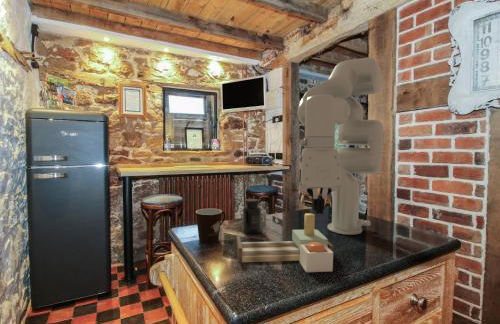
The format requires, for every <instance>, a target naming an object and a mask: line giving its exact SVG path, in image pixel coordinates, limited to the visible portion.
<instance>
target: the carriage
mask: <svg viewBox="0 0 500 324" xmlns="http://www.w3.org/2000/svg"><path fill="white" fill-rule="evenodd" d="M315 217H316V213H315V214H314V213H307V212H306V213H304V222H303V223H304V224H303V229H292V230H291V231H292V233H291V241H294V242H295V244H296V245H297V247H298V248H299V249H300V245H304V244H308V243H310V242H319V243H322V244H325V245H326V246H327V247H328V241H329V239H328V238H327V237H326V236H325V235H324V234H323V233H321V231H320V230H318V229H317V228H316V229H315V226H316V225H315V223H316V222H315V221H316V218H315Z"/></svg>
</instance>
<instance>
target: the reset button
mask: <svg viewBox="0 0 500 324" xmlns="http://www.w3.org/2000/svg"><path fill="white" fill-rule="evenodd" d="M308 251H309V252H324V244H322V243H319V242H310V243H308Z"/></svg>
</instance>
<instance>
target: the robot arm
mask: <svg viewBox="0 0 500 324" xmlns="http://www.w3.org/2000/svg"><path fill="white" fill-rule="evenodd" d="M383 81H384V80H383V75H382V71H381V68H380V65H379V62H377V60H376V59H375V58H373V57H362V58H355V59H347V60H343V61H340V62H339V63H337V64H336V65H335V67H334V68H333V70H332V72H331V73H330V75H329V77H328V79H326V80H325V81H322V82H321V83H319V84H317V85H315V86H313V87H311V88H310V89H309V90H307V91H305V93H304V95H303V96H302V98H301V100H300V101H299V103H298V106H297V119H298V121H299V122H300V123H301V125H303V126H304V137H303V138H302V139H299V145H300V146H301V145H302V146H303V147H304V148H301V149H302V150H301V154H300V160H299V165H298V167H299V168H298V183H299V185H298V191H300V192H304V193H307V194H308V195H309V196H310V197H311V209H312V211H313V213H315V215H319V214H320V215H322V214H324V210H325V208H326V206H325V205H326V204H325V202H326V200H325V199H327V197H328V196H329V195H330V193H332V206H331V207H332V210H331V212H332V213H331V222H330V223H328V224H327V229H328V231H331V232H333V233H336V234H341V235H348V236H350V235H351V236H352V235H359V234H361V233H362V232H363V228H362V227H363V226H365V227H366V226H367V227H368V226H371V224H372V223H371V220H364V219H360V218H359V213H360V212H359V211H360V210H359V208H360V183H359V181H358V179H357V178H356V177H355V174H360V175H362V174H363V175H377V174H379V173H380V172H381V170H382V165H383V153H384V152H383V150H384V126H383V124H382V122H381V121H379V120H378V119H364V107H363V104H361V103H360V101H359V100H358V99H356V98H355V97H354V96H361V95H362V96H363V95H365V96H366V95H375V94H378V93H379V92H380V91H381V90H382V87H383ZM336 126H338V132H337V133H338V134H337V137H338V141H339V143H340V144H342V145H345V146H346V145H347V146H367V147H340V148H335V144H336V143H335V141H336V140H335V136H336V135H335V134H336ZM318 189H319V190H318ZM318 191H319V192H318Z"/></svg>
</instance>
